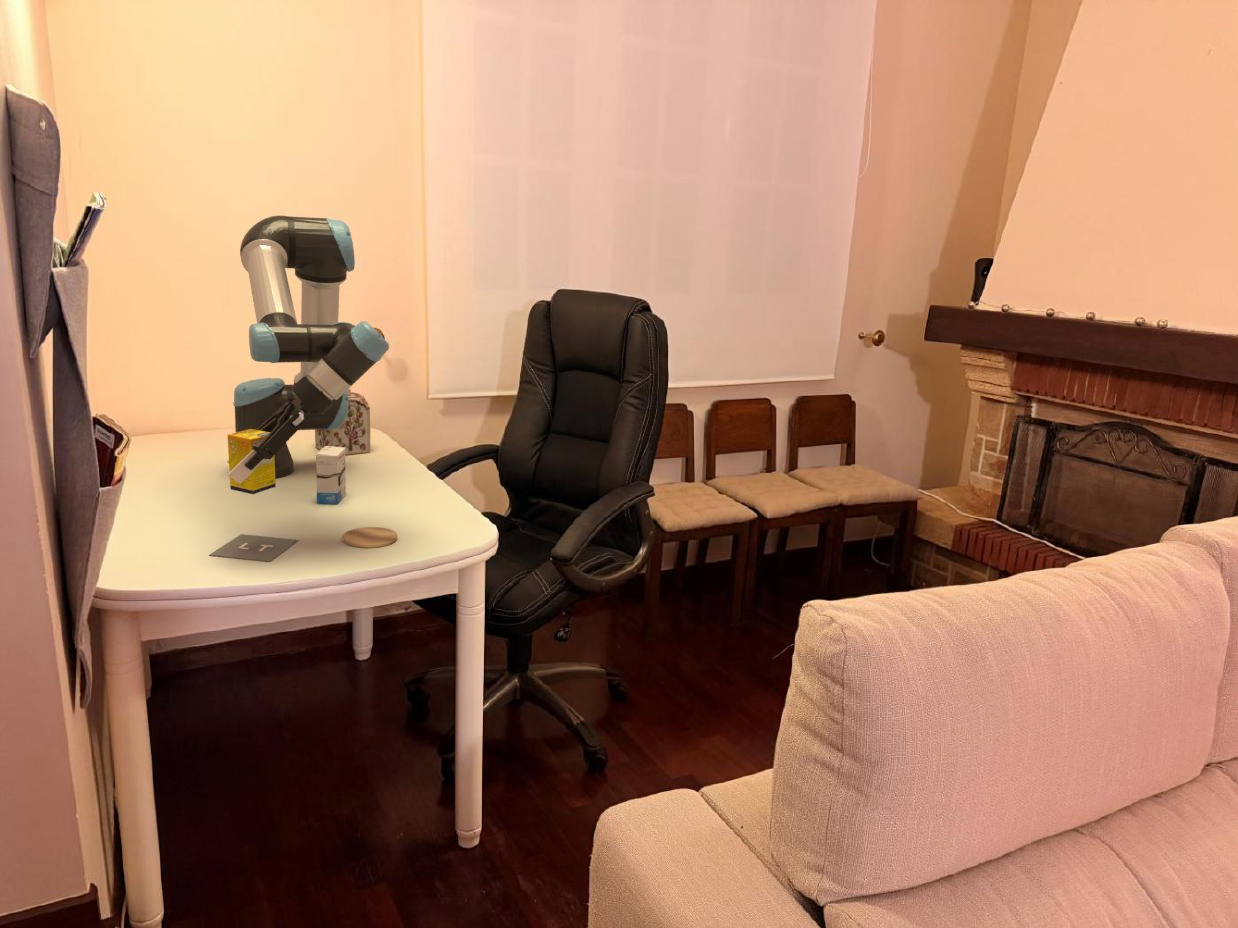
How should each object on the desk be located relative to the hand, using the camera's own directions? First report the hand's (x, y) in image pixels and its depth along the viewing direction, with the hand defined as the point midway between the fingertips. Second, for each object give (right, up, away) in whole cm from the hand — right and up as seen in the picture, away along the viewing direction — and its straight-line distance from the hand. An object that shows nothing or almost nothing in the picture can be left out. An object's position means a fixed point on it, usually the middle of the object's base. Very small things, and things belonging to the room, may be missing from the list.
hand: (233, 472), depth 164 cm
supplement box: (+3, -3, +2) cm, 5 cm away
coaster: (+22, -14, +15) cm, 30 cm away
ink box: (+6, -7, +38) cm, 39 cm away
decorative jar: (-5, +5, +81) cm, 81 cm away
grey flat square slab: (+2, -15, +5) cm, 16 cm away
